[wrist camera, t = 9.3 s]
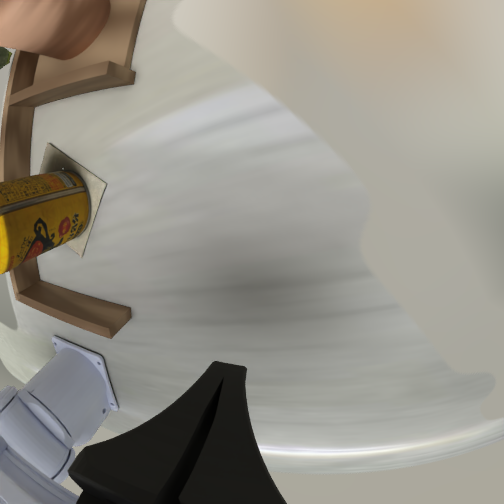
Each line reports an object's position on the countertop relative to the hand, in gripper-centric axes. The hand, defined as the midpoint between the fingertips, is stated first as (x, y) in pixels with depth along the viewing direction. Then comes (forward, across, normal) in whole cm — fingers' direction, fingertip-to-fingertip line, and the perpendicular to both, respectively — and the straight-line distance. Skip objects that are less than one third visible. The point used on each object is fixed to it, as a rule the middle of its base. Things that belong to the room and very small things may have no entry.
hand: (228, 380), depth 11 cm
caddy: (+9, +17, -11) cm, 23 cm away
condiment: (+10, +18, -5) cm, 21 cm away
